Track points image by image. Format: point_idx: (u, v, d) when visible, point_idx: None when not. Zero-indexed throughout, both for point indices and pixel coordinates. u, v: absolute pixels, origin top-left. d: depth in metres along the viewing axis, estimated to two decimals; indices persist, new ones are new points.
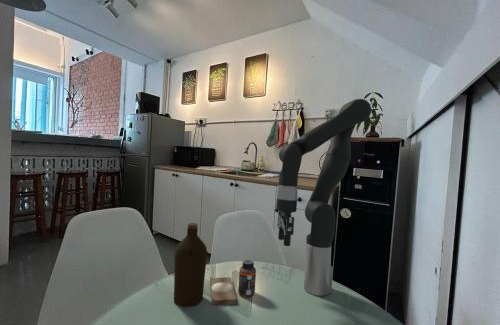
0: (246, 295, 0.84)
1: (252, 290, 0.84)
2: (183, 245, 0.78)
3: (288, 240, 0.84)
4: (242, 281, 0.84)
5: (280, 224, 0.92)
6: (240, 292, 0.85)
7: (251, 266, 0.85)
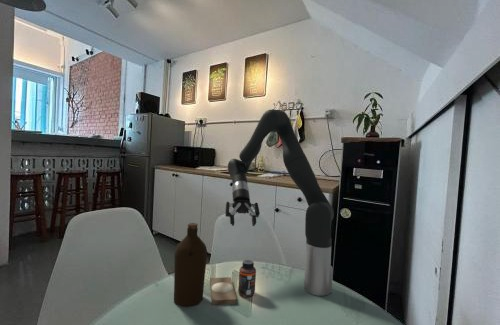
0: (246, 295, 0.84)
1: (252, 290, 0.84)
2: (183, 245, 0.78)
3: (230, 219, 0.99)
4: (242, 281, 0.84)
5: (248, 214, 1.04)
6: (240, 292, 0.85)
7: (251, 266, 0.85)
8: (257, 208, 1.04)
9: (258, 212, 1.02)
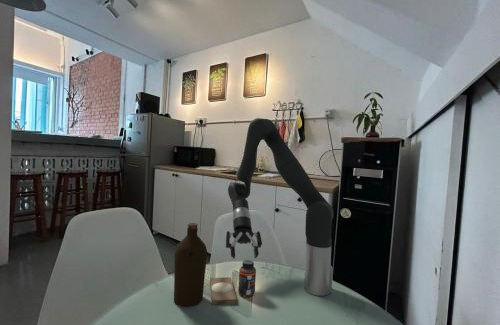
0: (246, 295, 0.84)
1: (252, 290, 0.84)
2: (183, 245, 0.78)
3: (231, 252, 0.93)
4: (242, 281, 0.84)
5: (250, 244, 0.98)
6: (240, 292, 0.85)
7: (251, 266, 0.85)
8: (259, 238, 0.98)
9: (260, 242, 0.97)
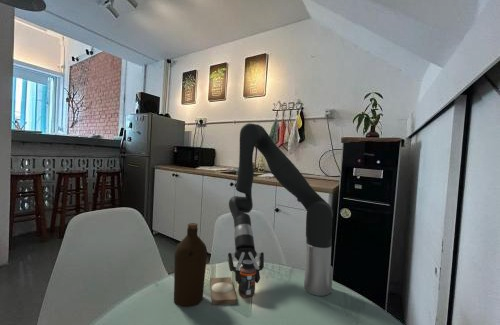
0: (246, 295, 0.84)
1: (252, 290, 0.84)
2: (183, 245, 0.78)
3: (235, 276, 0.85)
4: (242, 281, 0.84)
5: None
6: (240, 292, 0.85)
7: (251, 266, 0.85)
8: (262, 260, 0.90)
9: (262, 265, 0.89)
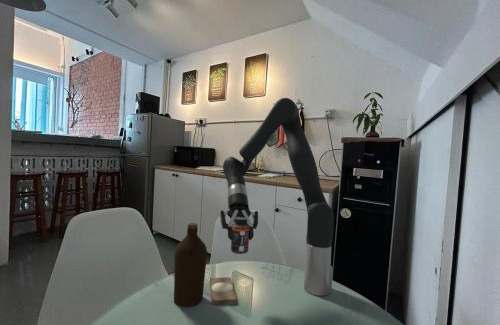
0: (239, 251, 0.79)
1: (245, 247, 0.80)
2: (183, 245, 0.78)
3: (228, 232, 0.81)
4: (234, 237, 0.80)
5: None
6: (233, 249, 0.80)
7: (244, 222, 0.81)
8: (256, 218, 0.86)
9: (256, 223, 0.85)
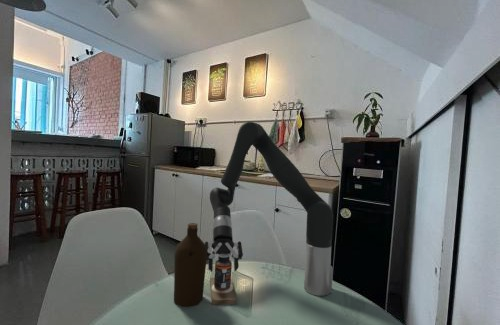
0: (221, 288, 0.84)
1: (227, 283, 0.85)
2: (183, 245, 0.78)
3: (208, 264, 0.86)
4: (217, 275, 0.85)
5: (230, 255, 0.91)
6: (215, 285, 0.85)
7: (226, 259, 0.86)
8: (240, 248, 0.91)
9: (241, 254, 0.90)
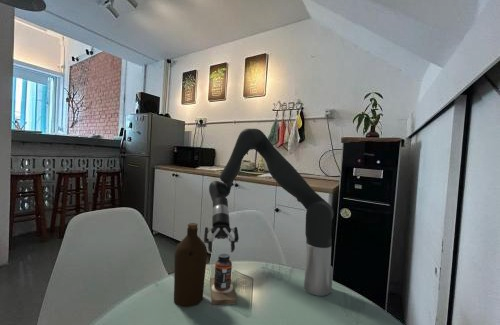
0: (221, 288, 0.84)
1: (227, 283, 0.85)
2: (183, 245, 0.78)
3: (208, 246, 0.98)
4: (217, 274, 0.85)
5: (227, 239, 1.03)
6: (215, 285, 0.85)
7: (226, 260, 0.86)
8: (236, 233, 1.03)
9: (237, 237, 1.02)
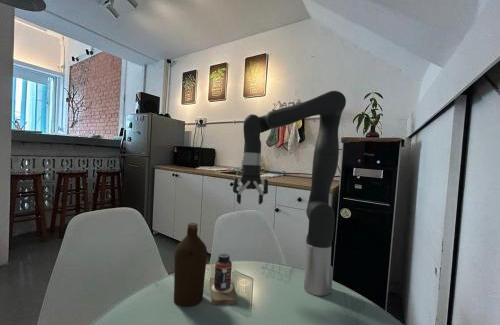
0: (221, 288, 0.84)
1: (227, 283, 0.85)
2: (183, 245, 0.78)
3: (237, 198, 0.98)
4: (217, 274, 0.85)
5: (256, 189, 1.01)
6: (215, 285, 0.85)
7: (226, 260, 0.86)
8: (266, 186, 1.00)
9: (266, 192, 0.99)
